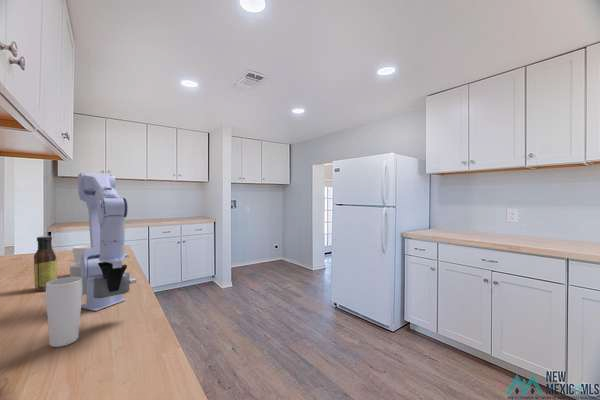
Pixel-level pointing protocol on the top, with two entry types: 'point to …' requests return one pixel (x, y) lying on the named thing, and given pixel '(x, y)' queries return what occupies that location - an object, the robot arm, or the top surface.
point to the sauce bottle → (44, 263)
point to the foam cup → (80, 251)
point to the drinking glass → (64, 309)
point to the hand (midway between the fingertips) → (112, 288)
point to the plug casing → (102, 287)
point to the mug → (78, 274)
